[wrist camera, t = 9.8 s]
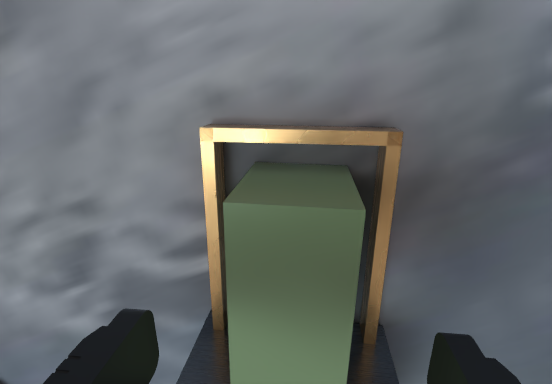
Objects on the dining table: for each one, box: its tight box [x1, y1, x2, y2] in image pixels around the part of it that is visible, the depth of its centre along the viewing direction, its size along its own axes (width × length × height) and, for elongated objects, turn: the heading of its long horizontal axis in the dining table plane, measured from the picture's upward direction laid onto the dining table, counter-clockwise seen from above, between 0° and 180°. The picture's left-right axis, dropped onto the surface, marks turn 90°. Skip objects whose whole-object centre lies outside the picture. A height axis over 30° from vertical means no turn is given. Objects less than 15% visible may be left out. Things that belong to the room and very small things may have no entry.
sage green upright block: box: [223, 162, 366, 384], centre depth 14 cm, size 8×4×6 cm, turn 179°
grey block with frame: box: [176, 124, 403, 384], centre depth 14 cm, size 16×10×7 cm, turn 0°
